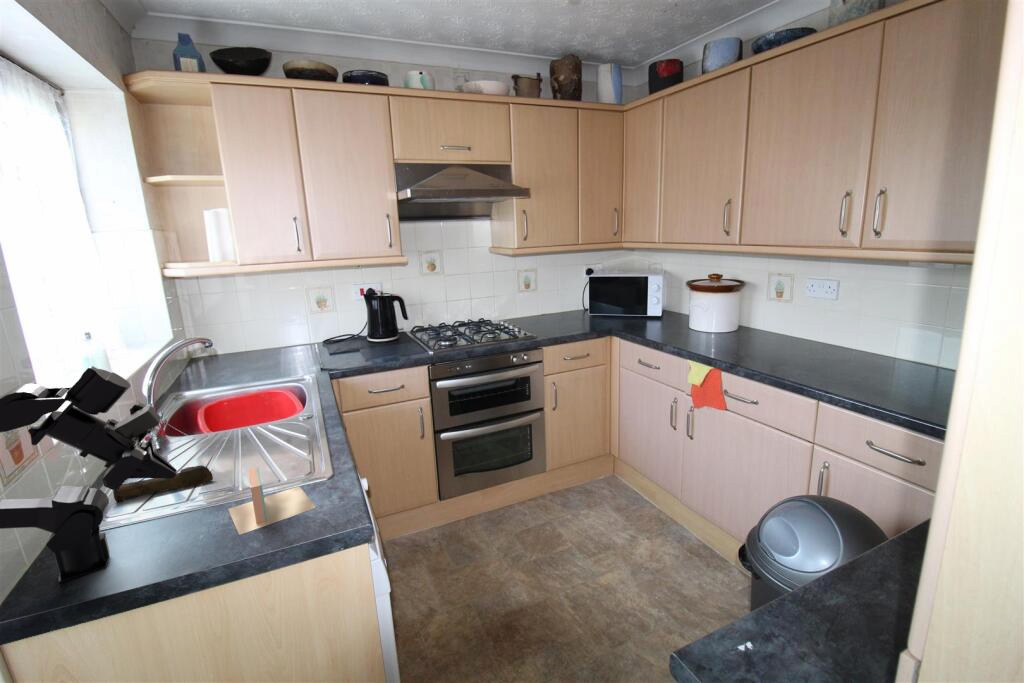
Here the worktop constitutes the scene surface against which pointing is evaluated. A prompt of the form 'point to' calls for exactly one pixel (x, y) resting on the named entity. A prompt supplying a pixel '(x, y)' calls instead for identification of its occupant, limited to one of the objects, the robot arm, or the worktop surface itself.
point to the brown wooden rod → (164, 483)
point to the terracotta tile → (257, 495)
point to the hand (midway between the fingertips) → (175, 474)
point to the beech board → (271, 509)
